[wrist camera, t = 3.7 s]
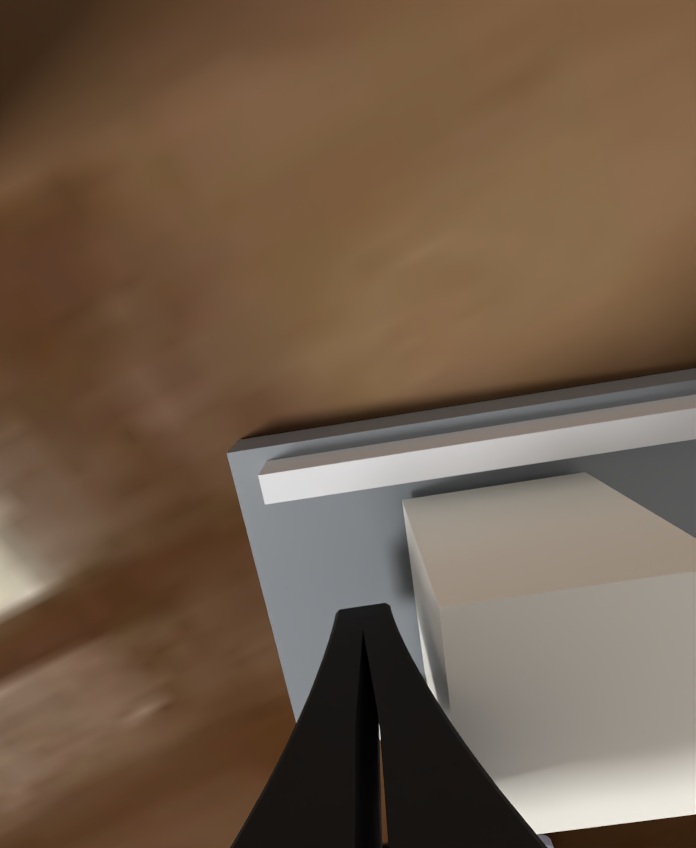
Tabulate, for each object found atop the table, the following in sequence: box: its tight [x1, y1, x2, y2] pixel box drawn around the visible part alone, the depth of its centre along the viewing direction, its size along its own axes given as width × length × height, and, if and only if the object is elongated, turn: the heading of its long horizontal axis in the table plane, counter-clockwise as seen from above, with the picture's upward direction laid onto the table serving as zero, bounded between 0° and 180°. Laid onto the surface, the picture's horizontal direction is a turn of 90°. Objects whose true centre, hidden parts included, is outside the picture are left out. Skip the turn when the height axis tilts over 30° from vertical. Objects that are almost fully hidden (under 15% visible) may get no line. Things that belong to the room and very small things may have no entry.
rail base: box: [227, 368, 696, 740], centre depth 10 cm, size 10×24×4 cm, turn 99°
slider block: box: [402, 472, 696, 834], centre depth 9 cm, size 6×5×4 cm
